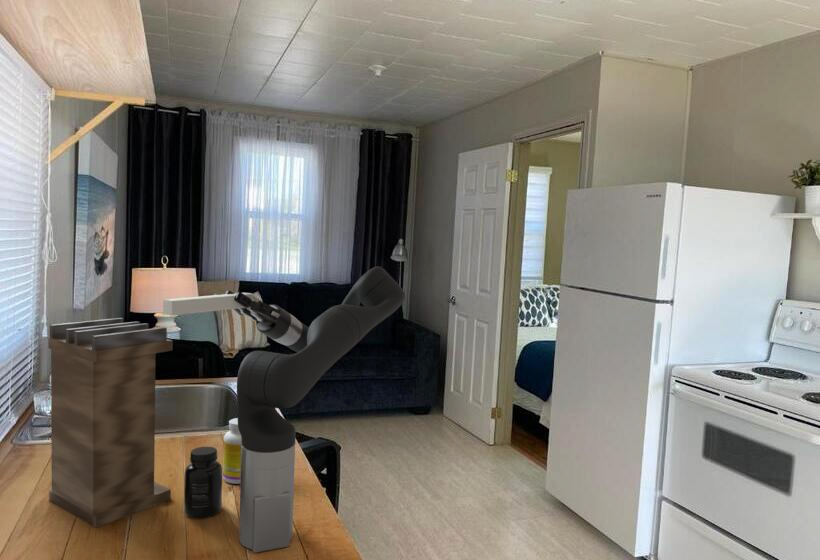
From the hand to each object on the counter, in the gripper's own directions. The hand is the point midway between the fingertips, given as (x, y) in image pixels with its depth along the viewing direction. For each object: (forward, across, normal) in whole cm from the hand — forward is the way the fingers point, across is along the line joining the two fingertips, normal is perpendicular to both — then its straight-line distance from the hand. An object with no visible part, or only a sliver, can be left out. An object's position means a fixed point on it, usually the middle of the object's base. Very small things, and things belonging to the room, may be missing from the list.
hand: (231, 295), depth 138 cm
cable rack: (+4, -2, +47) cm, 47 cm away
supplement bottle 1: (-4, +16, +43) cm, 46 cm away
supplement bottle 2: (-16, +9, +36) cm, 40 cm away
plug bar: (+3, 0, +5) cm, 6 cm away
